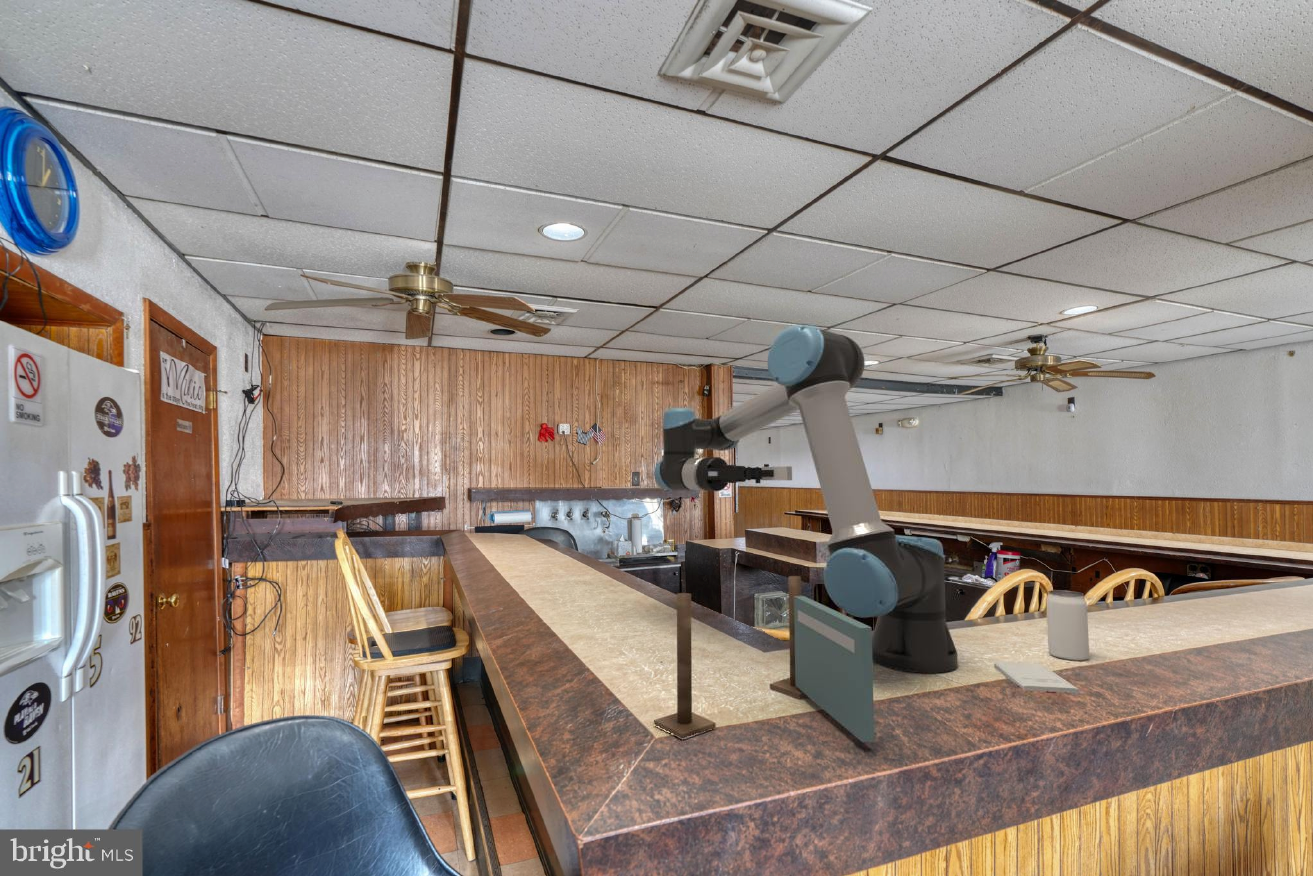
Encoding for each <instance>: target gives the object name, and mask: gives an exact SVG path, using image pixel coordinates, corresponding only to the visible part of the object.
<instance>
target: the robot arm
mask: <svg viewBox="0 0 1313 876" xmlns="http://www.w3.org/2000/svg"><path fill="white" fill-rule="evenodd" d="M772 343H773V344H772V345H771V347H770V348H769V350H768V354H767V370H768V373H769V376H770V377H771V379H772V380H774V381H775V382H776V384H774V385H772V386H770V387H769V388H767V389H765V390H763V391H762V392H760V393H757V394H756V395H754V396H753V397H751V398H749V399H747V400H746V401H744V402H742V403H740V404H738V405H736V406H734V407H733V408H731V409H729V410H727V411H726V412H724V413H722V414H720V415H718V416H716V417H714V418H713V419H707V418H698V417H696V414H695V413H696V412H695V410H694V409H693V408H688V407H673V408H667V409H665V411H664V412H663V418H662V420H663V421H662V431H663V432H662V433H663V434H662V437H663V440H662V441H663V445H662V446H663V453H662V459H661V460H660V461H658V462H657V464H656V466H655V467H654V471H653V477H654V481H655V483H656V485H658V486H659V487H660V488H661V489H664V490H670V491H695V493H696V494H700V493H701V491H702V492H703V491H706V492H719V491H723V490H724V489H725V488H726V487H727V486H728V484H737V483H745V482H747V481H752V480H754V481H755V484H761V483H762V482H761V481H793V466H790V465H789V466H788V465H787V466H785V465H784V466H770V464H769V463H764V464H763V466H761V467H759V466H755V467H751V466H747V467H746V466H745V465H736V464H728V462H727V461H726V460H724V459H723V458H722V457H720V456H711V457H709V456H707V457H705V456H704V457H695V455H696V450H712V451H714V450H715V451H722V452H723V451H729V450H733V449H734V448H736V447H737V445H738V443H739V442H740V440H741V439H743V438H745V437H747V436H749V435H751V434H754V433H756V432H757V431H760V430H761V429H764V428H766V427H767V426H770V425H771V424H773V423H776V422H778V421H780V420H781V419H784V418H785V417H788V416H790V415H792V414H794V413H796V412H798V411H799V412H800V413H799V414H800V417H801V421H802V424H803V429H804V431H805V435H806V440H807V442H808V446H809V451H810V453H811V457H812V461H813V464H814V469H815V471H816V475H817V479H818V480H817V481H818V483H819V486H820V490H821V493H822V494H821V495H822V498H823V500H824V501H823V502H824V504H825V508H826V511H827V512H826V513H827V515H828V519H829V523H830V527H831V531H832V533H831V536H830V537H829V539H828V541H827V542H826V543H827V544H826V545H827V549H828V553H829V558H828V559H827V560H826V562H825V563H826V566H824V568H823V583H824V587H825V589H826V592H827V594H828V596H829V597H830V599H831V600H832V602H833V603H834V604H835V605H836V606H837V607H838V608H840V609H841V610H843V611H844V612H845V613H847V614H849V615H851V616H853V617H857V618H876V617H877V620H876V624H875V627H874V630H873V632H872V662H873V661H874V663H876V664H879V665H881V666H883V667H884V666H885V667H886V668H887V667H888V668H890V669H895V670H899V671H905V672H912V673H913V672H914V673H921V674H922V673H925V674H926V673H927V674H928V673H929V674H931V673H932V674H935V673H936V674H937V673H947V672H951V671H954V670H956V669H957V668H958V667H959V663H958V662H959V659H958V656H959V655H958V651H957V648H956V646H955V643H954V641H953V638H952V635H951V632H950V629H949V626H948V624H947V621H946V620H947V617H946V584H945V583H946V582H945V577H946V575H945V562H946V558H945V556H944V547H943V544H942V543H941V541H940V540H938V539H935V538H928V537H918V536H908V535H899V534H895V533H896V532H895V529H893V528H892V527H891V526H889V525H888V524H886V523H884V522H883V521H882V518H881V514H880V512H879V508H878V505H877V502H876V498H875V495H874V491H873V489H872V485H871V484H872V483H871V481H870V478H869V475H868V471H867V468H866V464H865V461H864V458H863V454H862V451H861V448H860V443H859V441H858V438H857V434H856V430H855V427H854V423H853V421H852V417H851V413H850V411H849V407H848V404H847V400H846V395H847V393H848V392H849V390H851V389H853V388H854V387H855V386H856V385H857V384H858V382H859V381H860V380H861V378H862V376H863V373H864V371H865V365H866V364H865V357H864V353H863V350H862V349H861V347H860V345H859V344H858V343H857V342H856V341H855V340H854V339H852V338H851V337H848V335H847V336H846V335H843V334H838V333H835V332H831V331H828V330H825V329H820V328H818V327H816V326H814V325H804V324H798V325H797V324H795V325H791V326H790V327H787V328H785V329H784V330H783V331H781V332H780V333H779V334H778V335H777V336H776V338H775V339H774V340H773V342H772Z"/></svg>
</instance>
